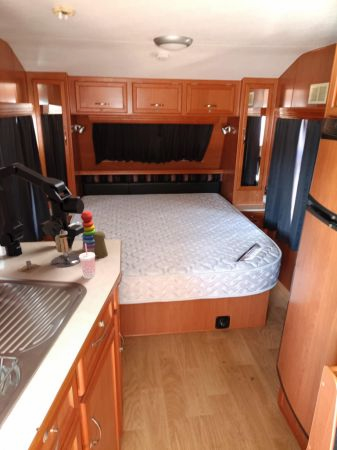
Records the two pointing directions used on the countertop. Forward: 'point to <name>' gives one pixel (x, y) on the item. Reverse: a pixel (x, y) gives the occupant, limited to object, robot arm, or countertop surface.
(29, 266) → the stand
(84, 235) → the stacking toy
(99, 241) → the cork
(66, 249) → the tan hollow faceted cylinder
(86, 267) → the beverage cup
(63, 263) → the disc
